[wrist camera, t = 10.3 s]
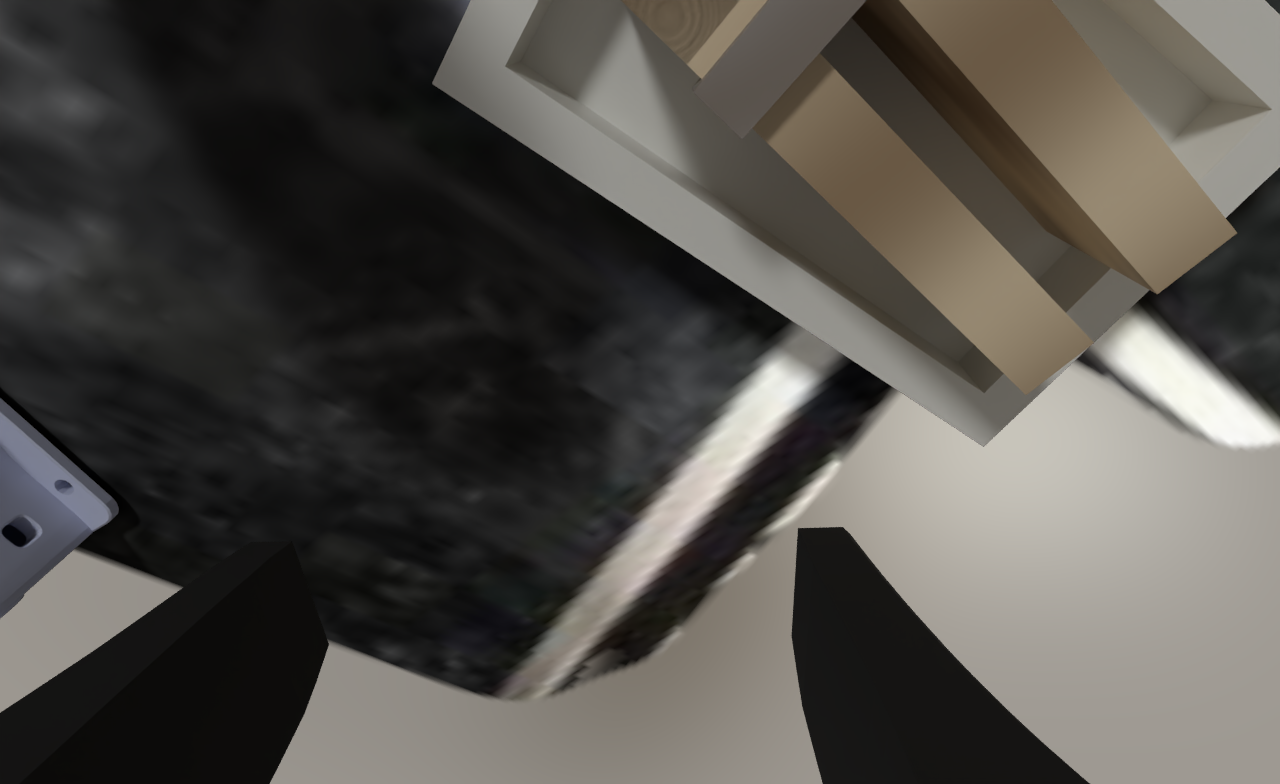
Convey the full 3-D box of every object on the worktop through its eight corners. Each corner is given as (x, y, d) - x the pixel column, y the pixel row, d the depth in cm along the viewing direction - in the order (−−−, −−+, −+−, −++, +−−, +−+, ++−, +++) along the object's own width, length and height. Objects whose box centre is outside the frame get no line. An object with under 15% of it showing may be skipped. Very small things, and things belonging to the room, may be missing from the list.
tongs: (614, 2, 14) (594, -5, 10) (779, -221, 12) (830, -332, 8) (942, 320, 17) (1026, 413, 13) (1112, 174, 15) (1266, 230, 11)
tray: (1259, 81, 15) (1358, 91, 13) (947, 397, 18) (983, 446, 16) (710, -431, 12) (720, -532, 9) (464, 74, 15) (432, 83, 13)
